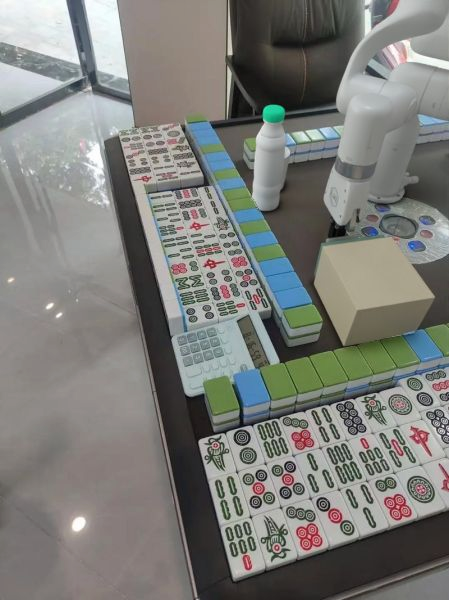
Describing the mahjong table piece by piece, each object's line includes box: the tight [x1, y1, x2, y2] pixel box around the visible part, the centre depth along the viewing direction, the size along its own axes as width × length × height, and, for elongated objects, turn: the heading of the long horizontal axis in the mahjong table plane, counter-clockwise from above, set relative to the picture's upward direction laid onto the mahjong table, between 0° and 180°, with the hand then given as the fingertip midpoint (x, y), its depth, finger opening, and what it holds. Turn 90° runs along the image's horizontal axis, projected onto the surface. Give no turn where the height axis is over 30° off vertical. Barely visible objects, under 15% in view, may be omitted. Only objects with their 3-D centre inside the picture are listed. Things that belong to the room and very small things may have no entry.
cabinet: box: [313, 236, 436, 347], centre depth 84 cm, size 17×15×11 cm
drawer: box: [313, 234, 386, 278], centre depth 87 cm, size 20×14×9 cm
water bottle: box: [251, 104, 288, 212], centre depth 102 cm, size 7×7×25 cm
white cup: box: [280, 145, 291, 191], centre depth 113 cm, size 8×8×10 cm
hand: (335, 238), depth 95 cm, fingers closed
